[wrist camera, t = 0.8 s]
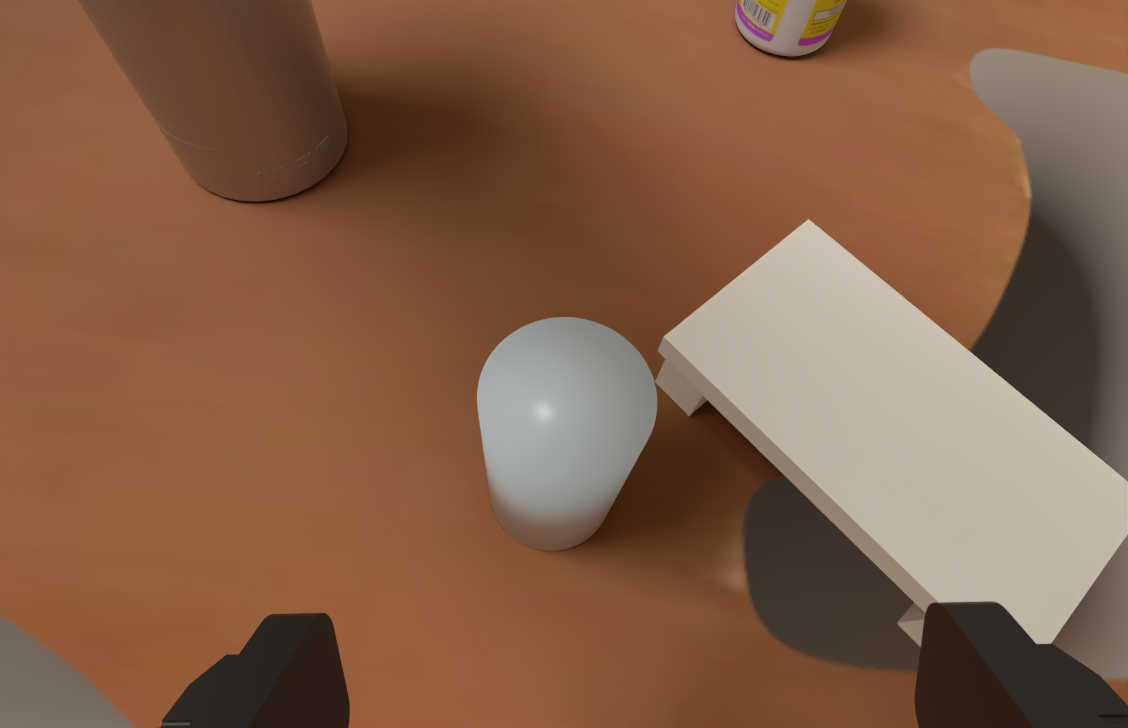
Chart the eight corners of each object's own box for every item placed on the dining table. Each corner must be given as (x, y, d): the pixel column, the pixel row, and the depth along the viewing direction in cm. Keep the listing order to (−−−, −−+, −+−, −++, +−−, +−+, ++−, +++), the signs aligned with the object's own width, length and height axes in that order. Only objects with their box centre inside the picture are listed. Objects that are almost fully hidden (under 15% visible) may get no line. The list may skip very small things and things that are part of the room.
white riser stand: (643, 383, 33) (663, 336, 29) (772, 276, 36) (808, 219, 32) (941, 683, 28) (1022, 683, 23) (1059, 526, 31) (1151, 500, 27)
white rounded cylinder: (464, 482, 30) (439, 385, 20) (556, 408, 32) (574, 287, 22) (544, 578, 29) (560, 523, 19) (636, 495, 31) (694, 405, 21)
